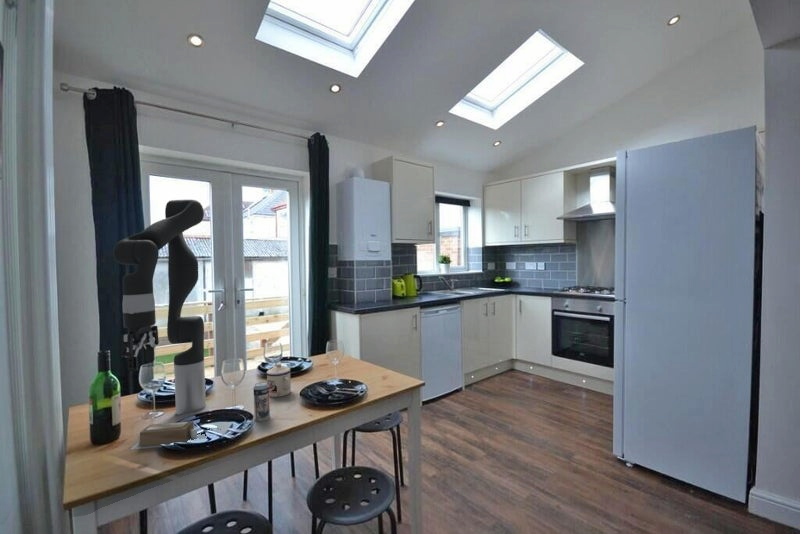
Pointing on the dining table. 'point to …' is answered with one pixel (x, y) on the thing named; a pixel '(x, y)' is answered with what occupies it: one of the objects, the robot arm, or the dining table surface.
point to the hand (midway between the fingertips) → (141, 365)
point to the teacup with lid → (279, 381)
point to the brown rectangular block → (166, 433)
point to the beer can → (261, 401)
